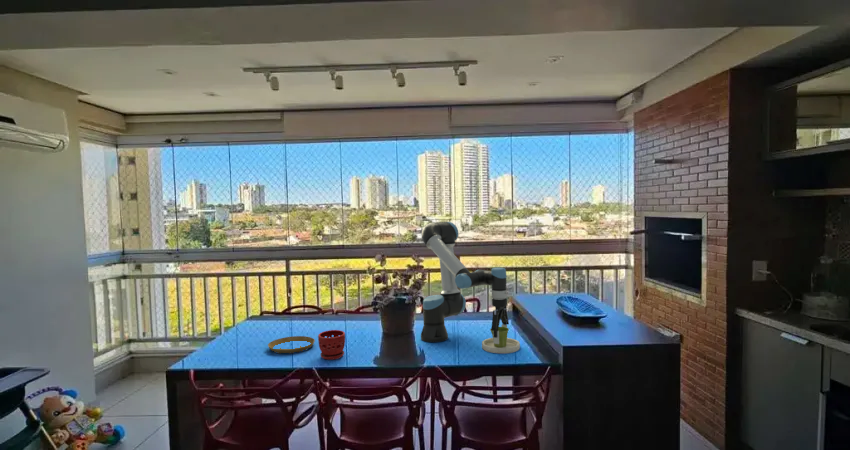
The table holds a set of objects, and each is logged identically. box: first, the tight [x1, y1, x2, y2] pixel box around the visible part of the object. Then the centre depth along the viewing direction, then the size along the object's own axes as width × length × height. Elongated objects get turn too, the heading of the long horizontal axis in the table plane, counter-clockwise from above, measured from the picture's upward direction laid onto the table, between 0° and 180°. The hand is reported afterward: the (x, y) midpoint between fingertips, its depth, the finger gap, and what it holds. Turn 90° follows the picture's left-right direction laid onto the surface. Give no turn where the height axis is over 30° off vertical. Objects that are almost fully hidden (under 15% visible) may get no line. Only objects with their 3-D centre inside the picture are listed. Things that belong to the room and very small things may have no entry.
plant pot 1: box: [317, 329, 346, 361], centre depth 220 cm, size 13×13×12 cm
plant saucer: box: [267, 335, 316, 354], centre depth 238 cm, size 24×24×3 cm
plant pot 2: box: [489, 326, 510, 348], centre depth 226 cm, size 9×9×9 cm
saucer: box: [481, 337, 521, 355], centre depth 226 cm, size 19×19×2 cm
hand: (500, 340), depth 226 cm, fingers open, 12 cm apart
